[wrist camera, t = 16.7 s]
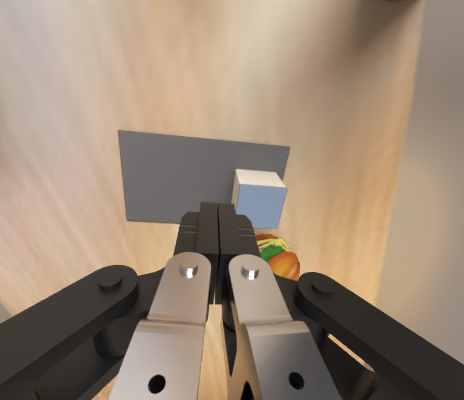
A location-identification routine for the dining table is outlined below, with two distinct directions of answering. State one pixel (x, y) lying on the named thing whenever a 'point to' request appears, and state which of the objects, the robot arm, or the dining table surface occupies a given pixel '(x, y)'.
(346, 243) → the dining table surface
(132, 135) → the rubber mat
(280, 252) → the cheeseburger
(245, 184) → the cream cube
